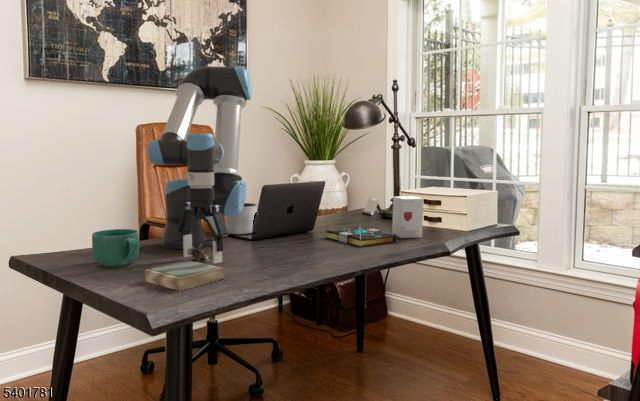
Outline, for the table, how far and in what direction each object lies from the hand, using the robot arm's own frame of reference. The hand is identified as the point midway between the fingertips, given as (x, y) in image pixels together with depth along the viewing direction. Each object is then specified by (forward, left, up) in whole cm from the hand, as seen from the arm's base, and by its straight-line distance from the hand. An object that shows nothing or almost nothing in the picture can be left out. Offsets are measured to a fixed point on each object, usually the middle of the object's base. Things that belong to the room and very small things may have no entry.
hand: (202, 259), depth 157 cm
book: (+16, +60, -2) cm, 62 cm away
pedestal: (+12, -16, -1) cm, 20 cm away
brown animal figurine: (-2, +2, -1) cm, 3 cm away
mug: (-16, -17, -1) cm, 23 cm away
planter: (-29, +44, -1) cm, 53 cm away
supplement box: (+25, +79, -1) cm, 83 cm away
